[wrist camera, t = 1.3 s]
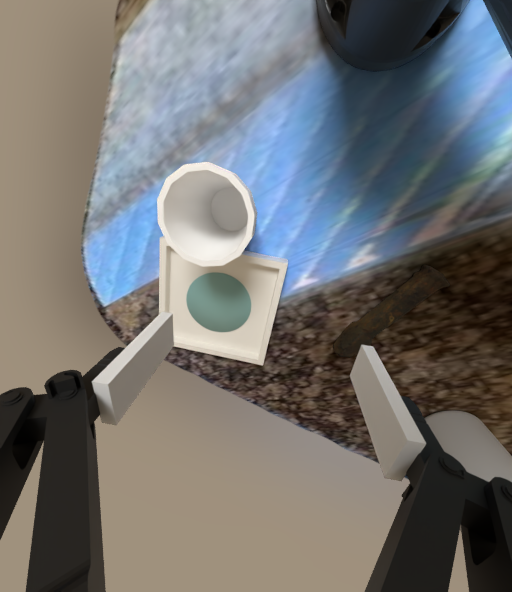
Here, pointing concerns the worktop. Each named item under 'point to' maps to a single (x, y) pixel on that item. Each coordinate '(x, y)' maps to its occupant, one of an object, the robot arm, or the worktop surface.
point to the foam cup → (206, 214)
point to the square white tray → (222, 303)
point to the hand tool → (389, 310)
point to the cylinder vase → (471, 444)
